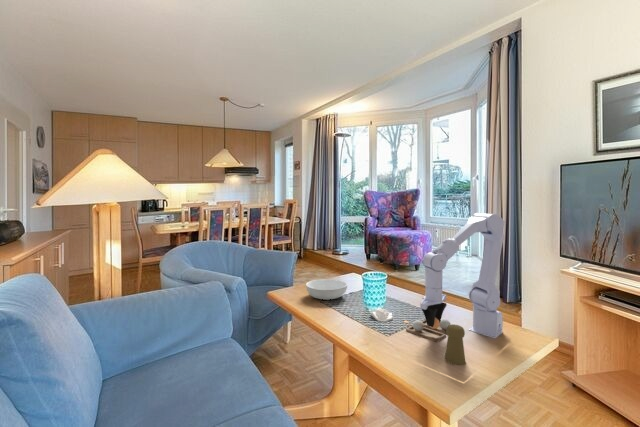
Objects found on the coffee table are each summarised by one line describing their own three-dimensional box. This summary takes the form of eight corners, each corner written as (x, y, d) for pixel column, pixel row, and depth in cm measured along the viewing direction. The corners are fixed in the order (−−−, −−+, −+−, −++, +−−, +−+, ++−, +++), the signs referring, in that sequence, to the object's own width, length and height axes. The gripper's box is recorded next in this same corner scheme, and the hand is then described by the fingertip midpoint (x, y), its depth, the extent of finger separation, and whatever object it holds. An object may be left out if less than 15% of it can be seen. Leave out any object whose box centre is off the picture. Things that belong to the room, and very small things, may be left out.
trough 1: (445, 337, 115) (446, 334, 115) (437, 343, 111) (437, 339, 111) (415, 327, 124) (415, 324, 124) (406, 331, 120) (406, 328, 120)
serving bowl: (354, 295, 166) (354, 281, 165) (334, 307, 148) (334, 292, 148) (320, 289, 177) (320, 276, 176) (297, 299, 159) (297, 285, 159)
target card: (423, 325, 126) (423, 324, 126) (416, 329, 122) (416, 328, 122) (405, 319, 132) (405, 318, 132) (398, 323, 128) (398, 322, 128)
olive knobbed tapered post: (440, 356, 101) (441, 322, 101) (459, 355, 102) (459, 321, 101) (450, 366, 95) (450, 330, 95) (469, 365, 96) (470, 329, 95)
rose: (365, 308, 133) (375, 302, 141) (365, 319, 133) (375, 312, 141) (387, 314, 127) (397, 307, 135) (387, 325, 127) (397, 317, 135)
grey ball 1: (426, 331, 120) (426, 320, 119) (420, 334, 117) (420, 323, 117) (416, 328, 123) (416, 317, 122) (410, 330, 120) (410, 320, 120)
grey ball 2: (452, 329, 121) (452, 319, 120) (447, 332, 118) (447, 322, 118) (442, 326, 124) (442, 316, 123) (437, 329, 121) (437, 319, 121)
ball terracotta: (441, 328, 115) (441, 317, 115) (436, 331, 112) (436, 320, 112) (431, 325, 118) (431, 314, 118) (425, 328, 115) (425, 317, 115)
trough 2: (457, 330, 121) (457, 327, 120) (449, 335, 116) (449, 332, 116) (426, 321, 130) (426, 318, 130) (418, 325, 126) (418, 322, 126)
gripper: (433, 280, 122) (433, 315, 123) (412, 288, 112) (412, 326, 113) (451, 284, 117) (451, 321, 118) (431, 292, 107) (431, 332, 108)
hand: (433, 324), depth 115 cm, fingers closed on ball terracotta, 4 cm apart
